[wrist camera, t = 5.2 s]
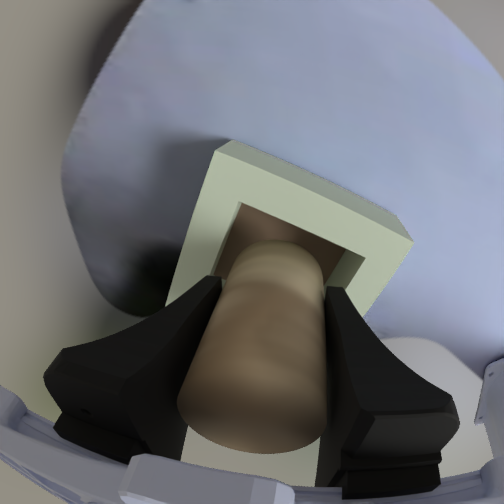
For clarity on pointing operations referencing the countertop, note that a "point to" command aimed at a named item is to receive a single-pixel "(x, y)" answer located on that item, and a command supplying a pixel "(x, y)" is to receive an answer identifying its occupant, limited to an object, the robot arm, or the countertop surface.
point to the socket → (288, 224)
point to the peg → (262, 355)
